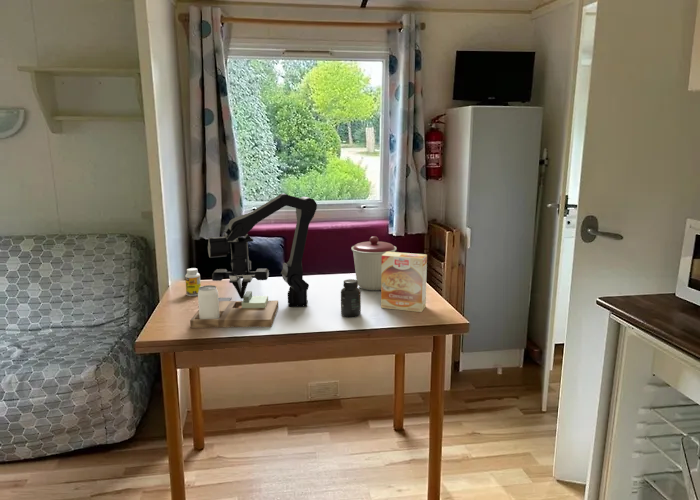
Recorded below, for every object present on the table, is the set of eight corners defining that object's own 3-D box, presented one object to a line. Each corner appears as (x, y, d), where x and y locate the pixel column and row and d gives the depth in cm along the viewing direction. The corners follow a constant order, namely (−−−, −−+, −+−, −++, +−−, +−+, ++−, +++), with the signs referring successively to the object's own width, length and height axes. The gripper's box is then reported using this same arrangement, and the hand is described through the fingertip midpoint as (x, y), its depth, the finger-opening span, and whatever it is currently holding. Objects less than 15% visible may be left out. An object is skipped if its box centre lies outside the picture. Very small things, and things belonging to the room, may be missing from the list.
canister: (354, 280, 223) (354, 231, 219) (397, 282, 221) (397, 232, 216) (348, 293, 206) (348, 240, 201) (394, 294, 203) (395, 241, 199)
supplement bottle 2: (337, 313, 183) (337, 279, 180) (355, 310, 185) (355, 277, 183) (345, 319, 176) (345, 284, 174) (364, 316, 179) (364, 282, 177)
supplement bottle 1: (183, 295, 204) (181, 270, 201) (191, 291, 209) (190, 267, 207) (196, 297, 202) (194, 271, 200) (204, 293, 207) (202, 267, 205)
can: (214, 326, 171) (212, 290, 168) (196, 325, 172) (193, 289, 169) (223, 319, 177) (221, 285, 174) (205, 318, 178) (203, 284, 176)
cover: (268, 300, 188) (267, 290, 187) (265, 307, 180) (264, 297, 180) (245, 301, 188) (245, 290, 187) (241, 308, 180) (241, 297, 179)
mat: (231, 298, 200) (231, 297, 200) (226, 306, 190) (226, 305, 190) (205, 298, 200) (205, 297, 200) (198, 307, 190) (198, 306, 190)
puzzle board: (278, 307, 189) (278, 300, 189) (271, 326, 170) (270, 319, 169) (206, 308, 189) (205, 301, 188) (190, 327, 169) (190, 320, 169)
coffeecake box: (380, 308, 187) (380, 255, 183) (386, 302, 194) (386, 250, 190) (421, 312, 182) (423, 258, 178) (426, 306, 189) (427, 253, 185)
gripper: (270, 249, 188) (271, 291, 192) (217, 250, 188) (220, 291, 191) (265, 256, 177) (267, 300, 181) (210, 257, 177) (213, 301, 181)
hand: (242, 298), depth 184 cm, fingers closed
